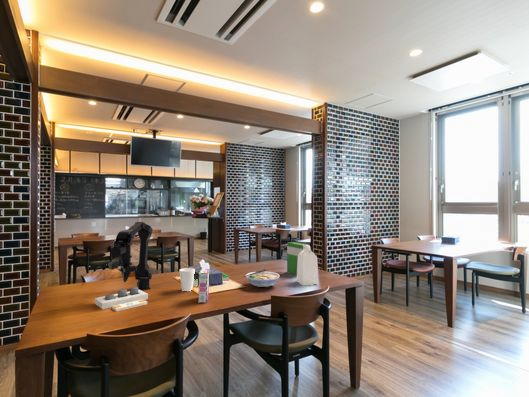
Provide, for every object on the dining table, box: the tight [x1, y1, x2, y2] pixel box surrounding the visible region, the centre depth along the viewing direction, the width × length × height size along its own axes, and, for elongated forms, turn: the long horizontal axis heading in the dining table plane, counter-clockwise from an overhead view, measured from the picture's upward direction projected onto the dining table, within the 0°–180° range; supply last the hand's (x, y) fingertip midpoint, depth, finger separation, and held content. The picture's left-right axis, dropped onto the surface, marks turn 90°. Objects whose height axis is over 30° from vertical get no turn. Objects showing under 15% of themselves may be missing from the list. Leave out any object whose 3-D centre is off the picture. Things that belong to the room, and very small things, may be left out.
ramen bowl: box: [243, 268, 281, 288], centre depth 201 cm, size 25×23×8 cm
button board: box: [94, 290, 149, 310], centre depth 168 cm, size 24×12×3 cm, turn 135°
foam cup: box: [179, 267, 196, 292], centre depth 190 cm, size 10×9×13 cm
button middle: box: [117, 288, 128, 298], centre depth 168 cm, size 4×4×4 cm
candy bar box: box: [197, 268, 210, 304], centre depth 172 cm, size 11×5×16 cm, turn 5°
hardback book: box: [286, 241, 310, 276], centre depth 238 cm, size 18×7×24 cm, turn 35°
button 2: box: [129, 286, 138, 295], centre depth 173 cm, size 4×4×4 cm
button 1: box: [104, 294, 114, 300], centre depth 164 cm, size 4×4×4 cm
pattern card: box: [111, 299, 148, 312], centre depth 161 cm, size 16×6×1 cm, turn 135°
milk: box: [296, 244, 319, 286], centre depth 211 cm, size 12×12×26 cm
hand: (125, 281), depth 170 cm, fingers closed
